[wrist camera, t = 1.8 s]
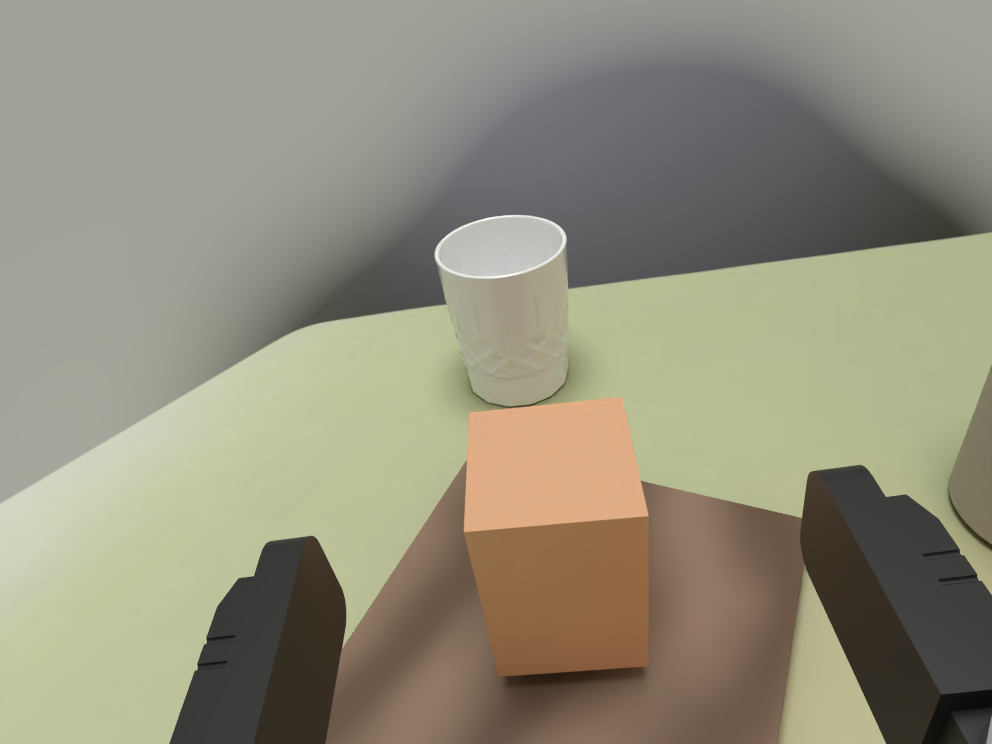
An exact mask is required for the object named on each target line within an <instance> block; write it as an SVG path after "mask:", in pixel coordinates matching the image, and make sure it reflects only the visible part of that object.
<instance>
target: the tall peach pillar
mask: <svg viewBox="0 0 992 744" xmlns="http://www.w3.org/2000/svg"><path fill="white" fill-rule="evenodd" d="M464 535H465V540H466V544H467V548H468V552H469V556H470V560H471V564H472V568H473V572H474V576H475V580H476V584H477V589H478V593H479V597H480V601H481V605H482V609H483V613H484V617H485V621H486V625H487V629H488V633H489V638H490V642H491V646H492V650H493V654H494V658H495V662H496V666H497V670H498V674H499V677H502V676H517V675H531V674H545V673H560V672H574V671H588V670H602V669H617V668H631V667H645V666H649V515H648V511H647V506H646V502H645V497H644V493H643V489H642V484H641V480H640V475H639V471H638V466H637V462H636V458H635V453H634V449H633V444H632V440H631V435H630V431H629V427H628V422H627V418H626V413H625V409H624V404H623V400H622V397H618V398H608V399H598V400H588V401H578V402H568V403H558V404H549V405H539V406H529V407H519V408H509V409H499V410H489V411H479V412H469V430H468V451H467V473H466V494H465V515H464Z"/></svg>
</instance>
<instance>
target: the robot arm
mask: <svg viewBox="0 0 992 744" xmlns="http://www.w3.org/2000/svg"><path fill="white" fill-rule="evenodd" d="M800 545H801V551H802V556H803V560H804V563H805V566H806V569H807V572H808V574H809V576H810V579H811V581H812V583H813V585H814V587H815V590H816V592H817V594H818V596H819V598H820V600H821V603H822V605H823V607H824V609H825V611H826V613H827V616H828V618H829V620H830V622H831V624H832V626H833V629H834V631H835V633H836V635H837V637H838V640H839V642H840V644H841V646H842V648H843V650H844V653H845V655H846V657H847V659H848V661H849V663H850V666H851V668H852V670H853V672H854V674H855V676H856V679H857V681H858V683H859V685H860V687H861V690H862V692H863V694H864V696H865V698H866V700H867V703H868V705H869V707H870V709H871V711H872V713H873V716H874V718H875V720H876V722H877V724H878V727H879V729H880V731H881V733H882V735H883V737H884V740H885V742H886V744H992V595H991V594H990V592H989V591H988V589H987V588H986V586H985V585H984V584H983V582H982V581H979V580H978V578H977V573H976V572H975V571H974V569H973V568H972V566H971V565H970V563H969V562H968V561H967V559H966V558H965V556H964V555H963V556H962V555H961V554H960V549H959V548H958V546H957V545H956V543H955V542H954V540H953V539H952V537H951V536H950V535H949V533H948V532H947V530H946V529H945V527H944V526H943V525H942V523H941V522H940V520H939V519H938V518H937V517H935V516H934V515H933V514H931V513H930V512H929V511H927V510H926V509H925V508H923V507H922V506H921V505H919V504H918V503H917V502H915V501H914V500H913V499H911V498H910V497H909V496H907V495H899V496H891V497H885V495H884V493H883V492H882V490H881V489H880V487H879V486H878V484H877V482H876V481H875V479H874V478H873V476H872V475H871V473H870V472H869V471H868V470H867V468H865V467H864V466H862V465H856V466H848V467H841V468H833V469H826V470H818V471H812V472H810V473H809V475H808V479H807V485H806V493H805V500H804V508H803V515H802V523H801V530H800ZM345 627H346V604H345V598H344V594H343V590H342V588H341V586H340V584H339V582H338V580H337V578H336V576H335V574H334V572H333V570H332V568H331V566H330V564H329V562H328V560H327V557H326V555H325V553H324V551H323V549H322V547H321V545H320V543H319V541H318V540H317V539H316V538H315V537H314V536H307V537H299V538H291V539H284V540H276V541H270V542H268V543H266V545H265V546H264V548H263V550H262V552H261V555H260V558H259V562H258V565H257V568H256V571H255V574H254V576H253V577H245V578H239V579H238V580H237V581H236V583H235V584H234V585H233V587H232V588H231V589H230V591H229V592H228V593H227V595H226V596H225V597H224V599H223V600H222V601H221V603H220V604H219V605H218V607H217V609H216V612H215V615H214V618H213V620H212V623H211V626H210V629H209V632H208V635H207V638H206V639H207V644H205V645H204V646H203V649H202V652H201V655H200V658H199V661H198V663H197V665H198V670H197V671H195V672H194V675H193V678H192V681H191V683H190V686H189V689H188V692H187V695H186V698H185V701H184V703H183V706H182V709H181V712H180V715H179V718H178V721H177V724H176V726H175V729H174V732H173V735H172V738H171V741H170V744H325V743H326V737H327V731H328V726H329V720H330V714H331V708H332V703H333V697H334V691H335V685H336V679H337V674H338V668H339V662H340V656H341V651H342V645H343V639H344V633H345Z"/></svg>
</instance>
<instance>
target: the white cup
mask: <svg viewBox="0 0 992 744" xmlns="http://www.w3.org/2000/svg"><path fill="white" fill-rule="evenodd" d="M566 244H567V243H566V235H565V233H564V231H563V230H562V228H561V227H559V226H558V225H557V224H555V223H553V222H551V221H549V220H546V219H543V218H539V217H533V216H525V215H507V216H497V217H491V218H486V219H482V220H478V221H475V222H472V223H469V224H467V225H464V226H462V227H460V228H458V229H456V230H454V231H453V232H451V233H450V234H448V235H447V236H446V237H444V238H443V239H442V240H441V241H440V243H439V244H438V246H437V248H436V250H435V260H436V264H437V267H438V271H439V275H440V279H441V282H442V287H443V290H444V294H445V298H446V302H447V306H448V311H449V315H450V318H451V321H452V324H453V327H454V332H455V336H456V339H457V342H458V345H459V350H460V353H461V356H462V357H463V358H464V362H465V365H466V369H467V373H468V377H469V380H470V383H471V386H472V389H473V392H474V393H475V394H477V395H478V396H480V397H481V398H482V399H484V400H485V401H486V402H488V403H493V404H498V405H502V406H507V407H511V406H522V405H531V404H534V403H536V402H538V401H541V400H543V399H546V398H548V397H550V396H552V395H553V394H554V393H555V392H556V391H557V390H558V389H559V388H560V387H561V386H562V385H563V384H564V383H565V380H566V376H567V372H568V348H567V344H568V335H569V329H568V277H567V245H566Z"/></svg>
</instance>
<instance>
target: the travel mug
mask: <svg viewBox="0 0 992 744" xmlns="http://www.w3.org/2000/svg"><path fill="white" fill-rule="evenodd" d="M949 493H950V497H951V500H952V502H953V505H954V507H955V508H956V510H957V512H958V513H959V515H960V516H961V517H962V519H963V520H964V521H965V522H966V523H967V524H968V525H969V526H970V527H971V528H972V529H973V530H974V531H975V532H976V533H977V534H978V535H979V536H981V537H982V538H983V539H985V540H986V541H987V542H989V543H990V544H992V366H991V368H990V371H989V374H988V376H987V379H986V382H985V384H984V387H983V390H982V393H981V395H980V398H979V401H978V403H977V406H976V409H975V411H974V414H973V417H972V419H971V422H970V425H969V427H968V430H967V433H966V435H965V438H964V441H963V443H962V446H961V449H960V452H959V454H958V457H957V460H956V462H955V465H954V468H953V470H952V473H951V476H950V479H949Z"/></svg>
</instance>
